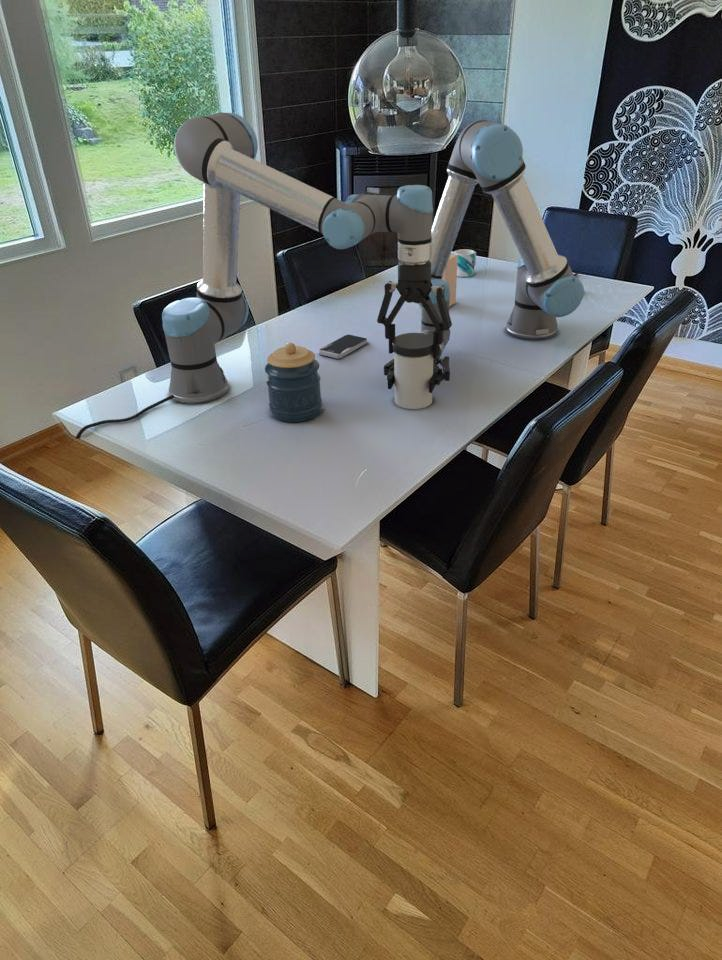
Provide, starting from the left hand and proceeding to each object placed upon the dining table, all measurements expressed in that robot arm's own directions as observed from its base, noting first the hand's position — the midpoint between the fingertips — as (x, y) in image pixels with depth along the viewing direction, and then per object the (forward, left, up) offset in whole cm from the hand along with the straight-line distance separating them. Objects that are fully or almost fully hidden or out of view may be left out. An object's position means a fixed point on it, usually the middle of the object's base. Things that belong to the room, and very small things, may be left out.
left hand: (413, 353), depth 162 cm
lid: (0, 0, +3) cm, 3 cm away
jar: (0, 0, -13) cm, 13 cm away
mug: (+105, +44, -13) cm, 114 cm away
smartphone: (+18, +36, -13) cm, 42 cm away
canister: (-21, +21, -13) cm, 32 cm away
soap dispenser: (+69, +33, -13) cm, 77 cm away
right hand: (-4, -2, -6) cm, 8 cm away
